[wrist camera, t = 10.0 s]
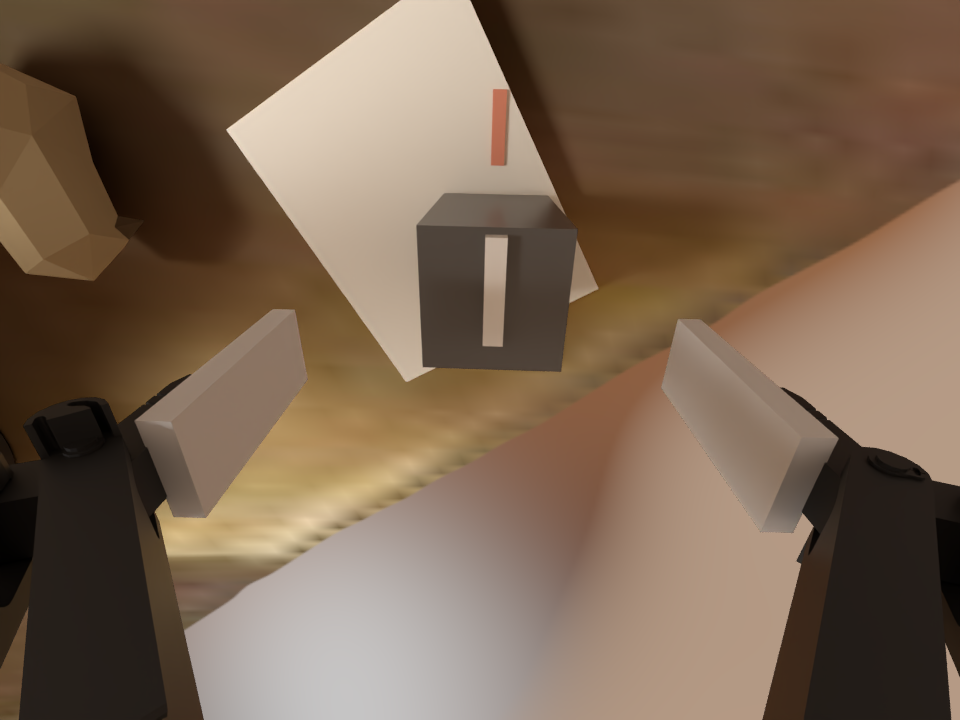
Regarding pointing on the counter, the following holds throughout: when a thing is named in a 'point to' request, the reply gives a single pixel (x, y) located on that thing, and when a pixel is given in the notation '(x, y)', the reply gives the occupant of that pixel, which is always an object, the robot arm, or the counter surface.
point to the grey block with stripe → (494, 282)
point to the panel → (394, 155)
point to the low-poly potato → (52, 185)
